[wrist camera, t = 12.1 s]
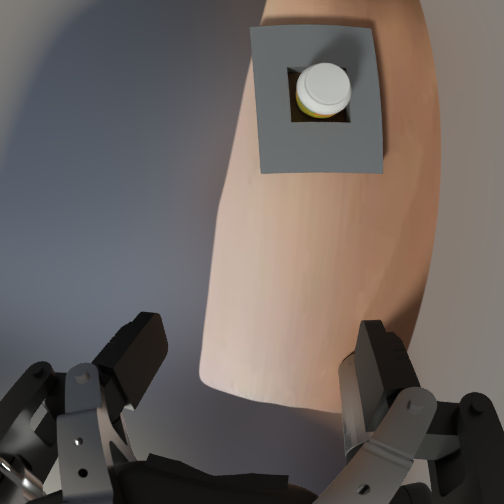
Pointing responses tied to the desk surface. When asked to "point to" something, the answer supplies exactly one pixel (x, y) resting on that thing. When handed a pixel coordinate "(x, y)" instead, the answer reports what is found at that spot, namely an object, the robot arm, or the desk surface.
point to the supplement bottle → (323, 90)
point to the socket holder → (316, 133)
